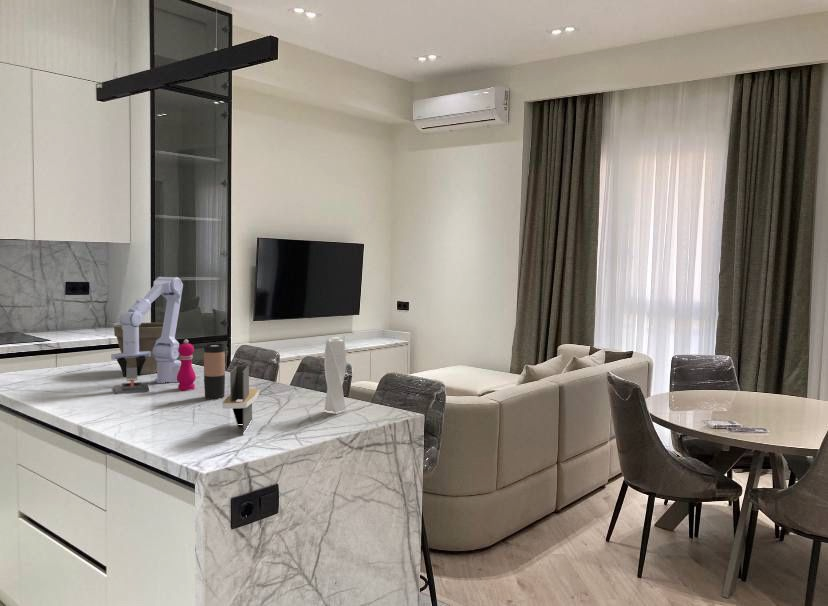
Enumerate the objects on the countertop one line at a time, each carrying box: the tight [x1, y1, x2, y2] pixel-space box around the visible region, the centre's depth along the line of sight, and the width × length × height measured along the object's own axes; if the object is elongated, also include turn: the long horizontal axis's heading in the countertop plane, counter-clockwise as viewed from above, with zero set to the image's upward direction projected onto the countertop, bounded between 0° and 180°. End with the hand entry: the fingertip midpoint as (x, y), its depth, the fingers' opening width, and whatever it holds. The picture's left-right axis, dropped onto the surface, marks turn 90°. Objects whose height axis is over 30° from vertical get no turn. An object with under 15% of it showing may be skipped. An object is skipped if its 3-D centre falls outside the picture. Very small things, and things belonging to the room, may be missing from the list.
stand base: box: [114, 381, 150, 395], centre depth 265 cm, size 12×12×4 cm
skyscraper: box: [323, 333, 347, 412], centre depth 233 cm, size 8×8×28 cm
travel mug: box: [203, 343, 226, 400], centre depth 253 cm, size 8×8×20 cm
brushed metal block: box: [125, 366, 139, 382], centre depth 264 cm, size 4×4×5 cm
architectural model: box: [221, 365, 260, 433], centre depth 210 cm, size 38×25×20 cm, turn 6°
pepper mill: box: [177, 338, 197, 391], centre depth 268 cm, size 7×7×20 cm
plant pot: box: [113, 322, 170, 375], centre depth 304 cm, size 25×25×22 cm
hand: (131, 376), depth 264 cm, fingers closed on brushed metal block, 5 cm apart
